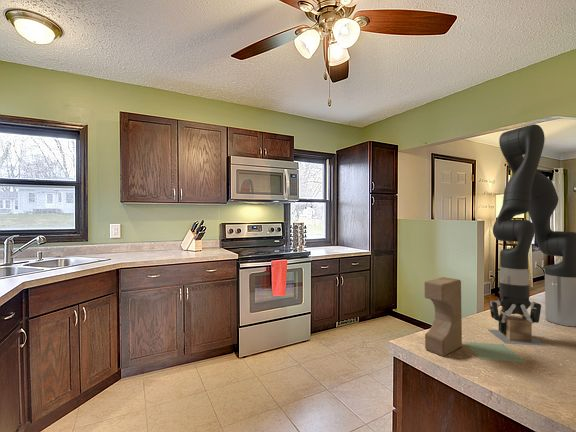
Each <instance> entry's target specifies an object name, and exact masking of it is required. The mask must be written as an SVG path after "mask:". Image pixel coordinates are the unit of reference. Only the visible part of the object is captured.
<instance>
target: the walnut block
mask: <svg viewBox="0 0 576 432" xmlns="http://www.w3.org/2000/svg"><path fill="white" fill-rule="evenodd" d="M505 323H506V335H505V334H502V333H501V332H500V331H499V333H500V334H502V335H503V336H505V337H506V338H507V339H509V340H512V341H528V342H532V337H533V335H532V334H533V332H532V331H533V329H532V328H533V327H532V325H533V323H532V322H530V321H528V320H526V319H525V318H522V317H521V315H517V314H511V315H510V317H508V318H507V319H506V322H505Z"/></svg>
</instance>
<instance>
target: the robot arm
mask: <svg viewBox="0 0 576 432" xmlns="http://www.w3.org/2000/svg"><path fill="white" fill-rule="evenodd" d="M498 139H499V140H498V141H499V142H498V143H499V148H500V151H501V153H502V155H503V157H504V159H505V162H506V164H507V165H508V166H509V168H510V171H511V173H512V176H510V177H511V178H509V180H508V181H507V183H506V185H505V187H504V191H503V197H502V205H501V209H500V211H499V214H498V215H497V218H496V219H495V222H494V223H493V225H492V226H493V227H492V233H493V236H494V238H495V239H496V240H498V241H500V242H501V241H502V242H516V243H517V244H516V245H515V246H514V247H510V248H503V249H501V250H500V252H499V254H500V255H499V261H500V262H499V264H500V266H499V273H498V274H499V298H498V300H493V299H490V300H488V303H489V310H490V317H491V318H492V319H494V320H495V321H496V322H498V330H499V331H500V332H501V333H502V334H505V335H506V323H505V322H506V319H507V318H508V317H510V315H519V316H521V317H522V318H525V319H526V320H528V321H530V322H532V324H535V323H539V322H540V317H541V311H542V305H541V304H540V303H538V302H536V301H530V273H529V252H530V248H531V245H532V244H533V239H534V237H535V239H536V242H537V246H538V249H539V250H540V251H541V253H542V254H543V255H545V256H550V257H551V256H553V257H562V261H560V262H558V263H555V264H548V265H546V266H545V267H544V303H545V313H544V315H545V320H546V321H548V322H550V323H551V324H552V323H553V324H556V325H559V326H566V327H576V232H575V231H562V230H561V231H559V230H558V231H556V230H552V228H551V226H550V219H551V217H552V215H553V214H554V212H555V210H556V209H557V207H558V203H559V196H558V193H557V190H556V188H555V184H554V183H553V181H552V180H551V179H550V178H548V176H546V175H544V174H543V173H541V172H539V171H538V168H539V164H540V160H541V157H542V153H543V150H544V145H545V141H546V140H545V139H546V138H545V132H544V130H543V128H542V127H541V125H539V124H535V123H533V124H528V125H524V126H521V127H518V128H514V129H511V130H507V131H504V132H503V133H501V135H500V136H499V138H498ZM527 213H528V216H529V217H530V220H531V221H530V220H528V219H513V218H514V217H515V216H520V215H523V214H527ZM500 306H501V308H500V310H499V307H500ZM528 308H530V314H529V312H528Z"/></svg>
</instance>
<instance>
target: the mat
mask: <svg viewBox="0 0 576 432" xmlns="http://www.w3.org/2000/svg"><path fill="white" fill-rule="evenodd" d="M463 343H464V344H465V345H466V346H467V347H468V348H469V349H470V350H471V351H472V352H473V353H474V354H475V355H476V356H477V357H478V358H479V359H480V360H487V361H503V362H514V363H528V362H527V361H526V360H525V359H523V358H522V357H521V356H519V355H518V354H517V353H515V352H514V351H513V350H512V349H510V348H509V347H508V346H506V345H505V343H504V344H501V343H489V342H488V343H487V342H486V343H485V342H472V341H463Z"/></svg>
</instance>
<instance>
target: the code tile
mask: <svg viewBox="0 0 576 432" xmlns="http://www.w3.org/2000/svg"><path fill="white" fill-rule="evenodd" d="M487 331H489V332H490V333H491V334H492V335H494V336H495V337H496V338H497V339H499V340H501V342H503V343H504V344H510V345H526V346H539V347H540V346H541V347H547V344H545V343H544V342H541V341H540V340H538V339H536V338H534V337H533V336H532V342H528V341H512V340H509V339H507V338H506V337H505V336H503V335H502V334H500V333H499V329H487Z"/></svg>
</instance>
